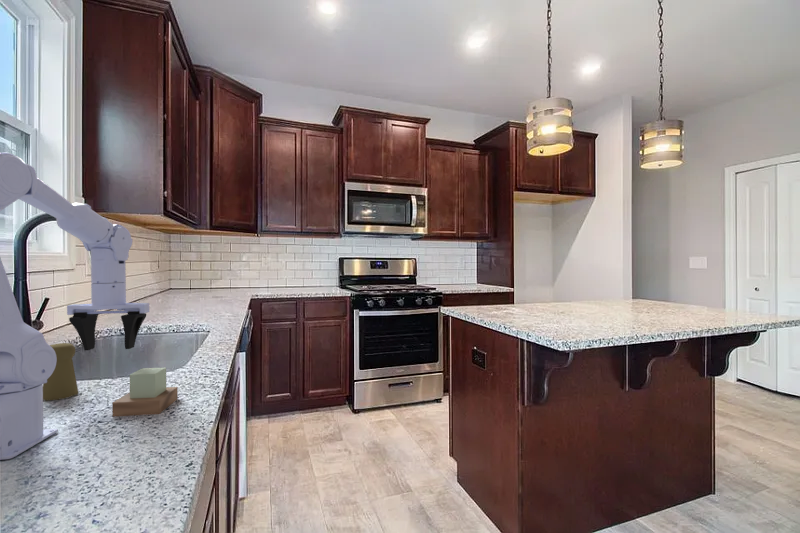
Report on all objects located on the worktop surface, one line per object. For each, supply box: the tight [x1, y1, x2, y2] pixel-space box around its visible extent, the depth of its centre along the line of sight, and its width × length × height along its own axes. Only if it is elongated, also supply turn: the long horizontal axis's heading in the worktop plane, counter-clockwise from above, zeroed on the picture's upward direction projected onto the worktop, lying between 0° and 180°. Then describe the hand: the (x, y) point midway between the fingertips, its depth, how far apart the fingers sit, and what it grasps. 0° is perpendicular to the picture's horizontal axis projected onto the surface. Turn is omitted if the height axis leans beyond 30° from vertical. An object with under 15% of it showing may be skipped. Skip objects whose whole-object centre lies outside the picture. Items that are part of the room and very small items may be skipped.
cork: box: [43, 342, 79, 401], centre depth 83 cm, size 6×6×11 cm
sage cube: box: [129, 367, 167, 398], centre depth 76 cm, size 4×4×4 cm
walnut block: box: [111, 386, 179, 418], centre depth 76 cm, size 8×8×3 cm
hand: (109, 348), depth 81 cm, fingers open, 7 cm apart
